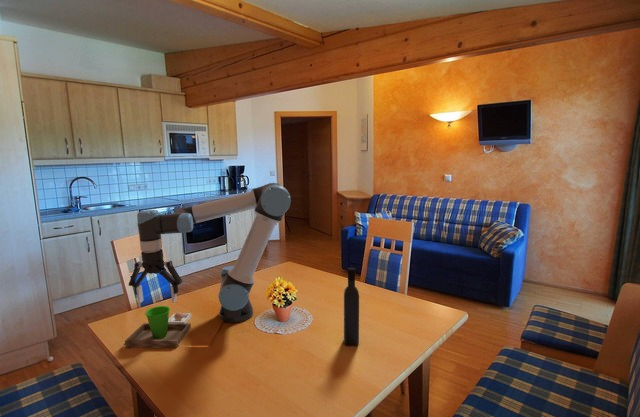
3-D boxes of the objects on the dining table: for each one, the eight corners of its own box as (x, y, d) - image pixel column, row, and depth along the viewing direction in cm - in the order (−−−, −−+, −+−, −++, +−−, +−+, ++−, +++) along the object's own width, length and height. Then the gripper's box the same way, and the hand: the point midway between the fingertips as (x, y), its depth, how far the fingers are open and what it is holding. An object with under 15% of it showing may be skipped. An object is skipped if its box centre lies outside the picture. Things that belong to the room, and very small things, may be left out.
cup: (163, 343, 135) (160, 316, 133) (142, 341, 137) (139, 314, 135) (176, 331, 144) (174, 306, 142) (157, 329, 146) (155, 304, 144)
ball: (184, 318, 156) (184, 310, 155) (181, 322, 152) (180, 314, 152) (176, 318, 156) (176, 310, 155) (173, 322, 152) (172, 314, 152)
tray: (191, 329, 147) (190, 323, 147) (177, 347, 133) (176, 340, 133) (144, 329, 148) (143, 323, 147) (125, 347, 134) (124, 340, 133)
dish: (191, 317, 158) (191, 313, 158) (184, 325, 150) (184, 321, 150) (174, 317, 158) (173, 313, 158) (166, 325, 150) (165, 322, 150)
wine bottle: (357, 338, 139) (358, 266, 134) (359, 346, 133) (359, 271, 128) (343, 338, 139) (343, 266, 134) (344, 346, 133) (344, 271, 128)
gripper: (187, 246, 138) (192, 296, 141) (125, 248, 139) (132, 298, 142) (179, 251, 131) (185, 305, 134) (114, 253, 131) (121, 306, 135)
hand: (157, 301), depth 138 cm, fingers open, 13 cm apart
